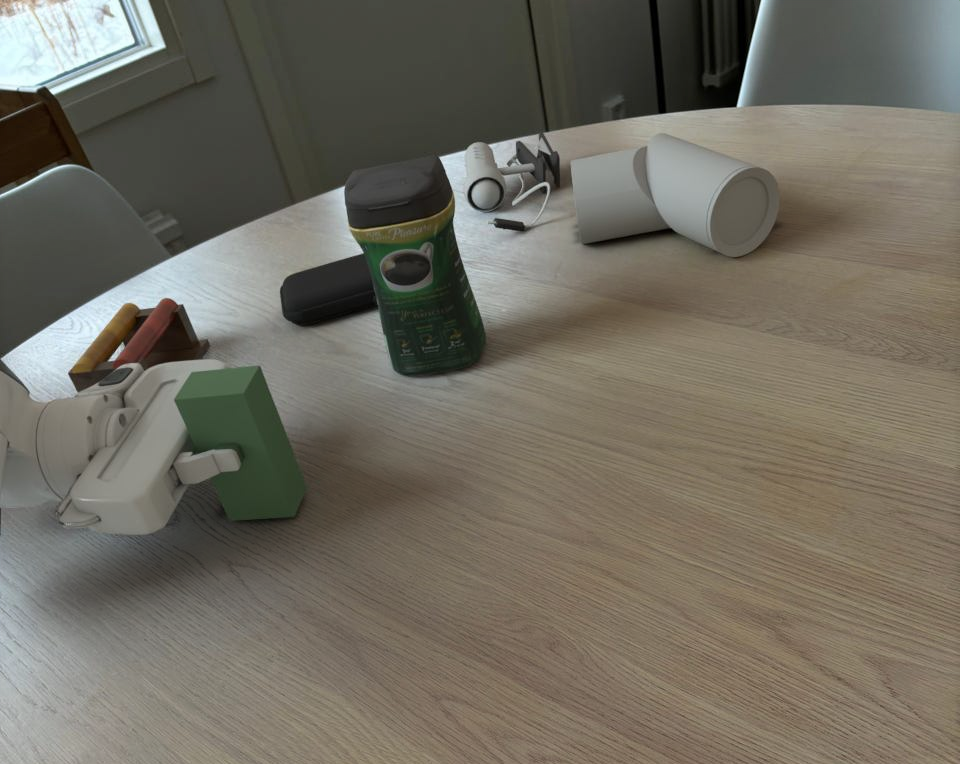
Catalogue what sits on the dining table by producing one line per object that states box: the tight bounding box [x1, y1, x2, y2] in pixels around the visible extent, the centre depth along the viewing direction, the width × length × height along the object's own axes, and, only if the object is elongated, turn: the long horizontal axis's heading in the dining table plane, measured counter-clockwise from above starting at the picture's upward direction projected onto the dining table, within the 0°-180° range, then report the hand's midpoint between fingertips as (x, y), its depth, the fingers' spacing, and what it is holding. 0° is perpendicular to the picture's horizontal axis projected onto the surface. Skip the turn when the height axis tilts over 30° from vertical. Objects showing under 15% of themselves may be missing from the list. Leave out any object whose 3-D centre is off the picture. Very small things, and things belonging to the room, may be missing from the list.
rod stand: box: [67, 297, 211, 393], centre depth 110 cm, size 10×13×6 cm
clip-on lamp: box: [463, 131, 561, 232], centre depth 124 cm, size 12×6×18 cm
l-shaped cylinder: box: [570, 132, 781, 258], centre depth 108 cm, size 18×11×20 cm
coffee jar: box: [343, 154, 487, 377], centre depth 97 cm, size 10×8×19 cm
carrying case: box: [279, 253, 378, 326], centre depth 115 cm, size 11×3×15 cm
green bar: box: [174, 365, 308, 522], centre depth 85 cm, size 6×4×12 cm, turn 80°
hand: (250, 436), depth 85 cm, fingers closed on green bar, 4 cm apart
